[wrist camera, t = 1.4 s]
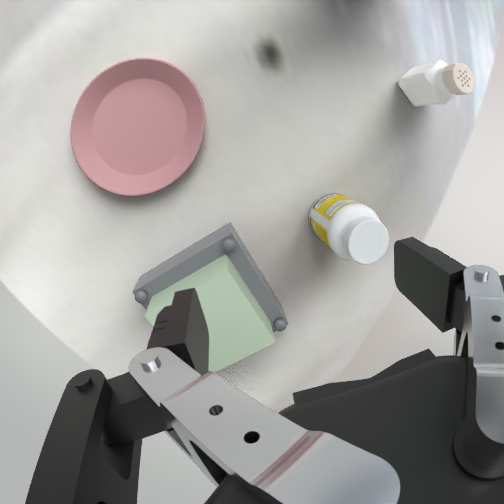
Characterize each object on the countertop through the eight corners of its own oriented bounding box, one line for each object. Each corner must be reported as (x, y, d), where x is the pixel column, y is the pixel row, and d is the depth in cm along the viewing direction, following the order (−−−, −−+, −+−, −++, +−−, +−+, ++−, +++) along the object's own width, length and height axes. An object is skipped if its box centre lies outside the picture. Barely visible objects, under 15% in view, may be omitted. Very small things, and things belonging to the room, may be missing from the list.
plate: (85, 66, 26) (78, 62, 24) (213, 63, 28) (212, 58, 26) (76, 191, 31) (68, 194, 29) (199, 196, 32) (198, 199, 31)
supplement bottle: (344, 243, 36) (382, 278, 27) (301, 232, 35) (330, 265, 26) (359, 199, 34) (404, 221, 25) (316, 185, 33) (352, 203, 24)
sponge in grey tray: (230, 222, 34) (233, 246, 26) (281, 306, 38) (296, 345, 30) (140, 276, 35) (122, 311, 27) (198, 349, 39) (195, 392, 31)
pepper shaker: (393, 81, 30) (443, 69, 21) (412, 65, 29) (462, 52, 20) (413, 108, 31) (464, 105, 22) (430, 92, 30) (482, 86, 21)
